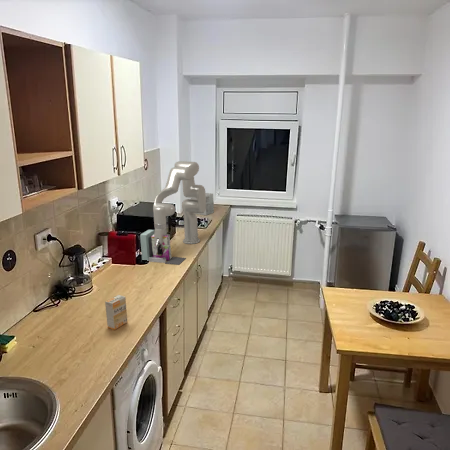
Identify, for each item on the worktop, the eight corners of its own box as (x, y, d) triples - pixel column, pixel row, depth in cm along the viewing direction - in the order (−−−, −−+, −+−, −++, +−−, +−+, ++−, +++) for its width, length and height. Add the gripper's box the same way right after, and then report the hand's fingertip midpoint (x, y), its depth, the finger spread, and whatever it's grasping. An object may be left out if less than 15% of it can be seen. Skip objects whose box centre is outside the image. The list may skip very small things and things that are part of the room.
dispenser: (150, 255, 276) (148, 229, 271) (171, 257, 271) (170, 231, 267) (142, 261, 265) (140, 234, 260) (164, 263, 260) (162, 236, 255)
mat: (172, 257, 271) (172, 256, 271) (186, 258, 269) (186, 257, 269) (165, 263, 260) (165, 263, 260) (179, 265, 258) (179, 264, 258)
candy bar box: (153, 261, 265) (150, 236, 261) (155, 258, 270) (152, 234, 266) (170, 260, 264) (167, 236, 260) (171, 257, 269) (169, 233, 264)
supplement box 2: (214, 212, 386) (213, 193, 381) (206, 215, 375) (205, 196, 370) (199, 210, 394) (198, 191, 389) (190, 213, 384) (190, 194, 379)
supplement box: (114, 330, 183) (112, 303, 179) (107, 327, 185) (104, 301, 182) (128, 322, 189) (125, 296, 186) (120, 319, 192) (118, 294, 188)
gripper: (160, 221, 270) (162, 248, 275) (149, 229, 254) (151, 256, 259) (171, 222, 268) (172, 248, 273) (160, 230, 252) (162, 257, 257)
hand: (162, 252), depth 266 cm, fingers closed on candy bar box, 5 cm apart
